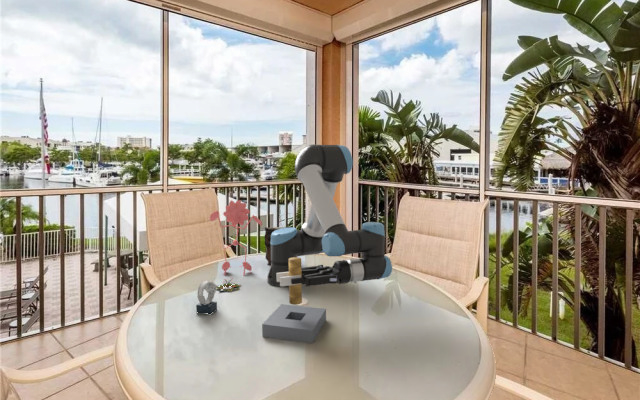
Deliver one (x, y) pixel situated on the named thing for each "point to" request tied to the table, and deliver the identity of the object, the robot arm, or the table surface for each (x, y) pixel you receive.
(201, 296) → the watch
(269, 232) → the owl
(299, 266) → the ochre pin
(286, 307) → the hole block
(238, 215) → the figurine
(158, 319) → the table surface
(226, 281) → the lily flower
